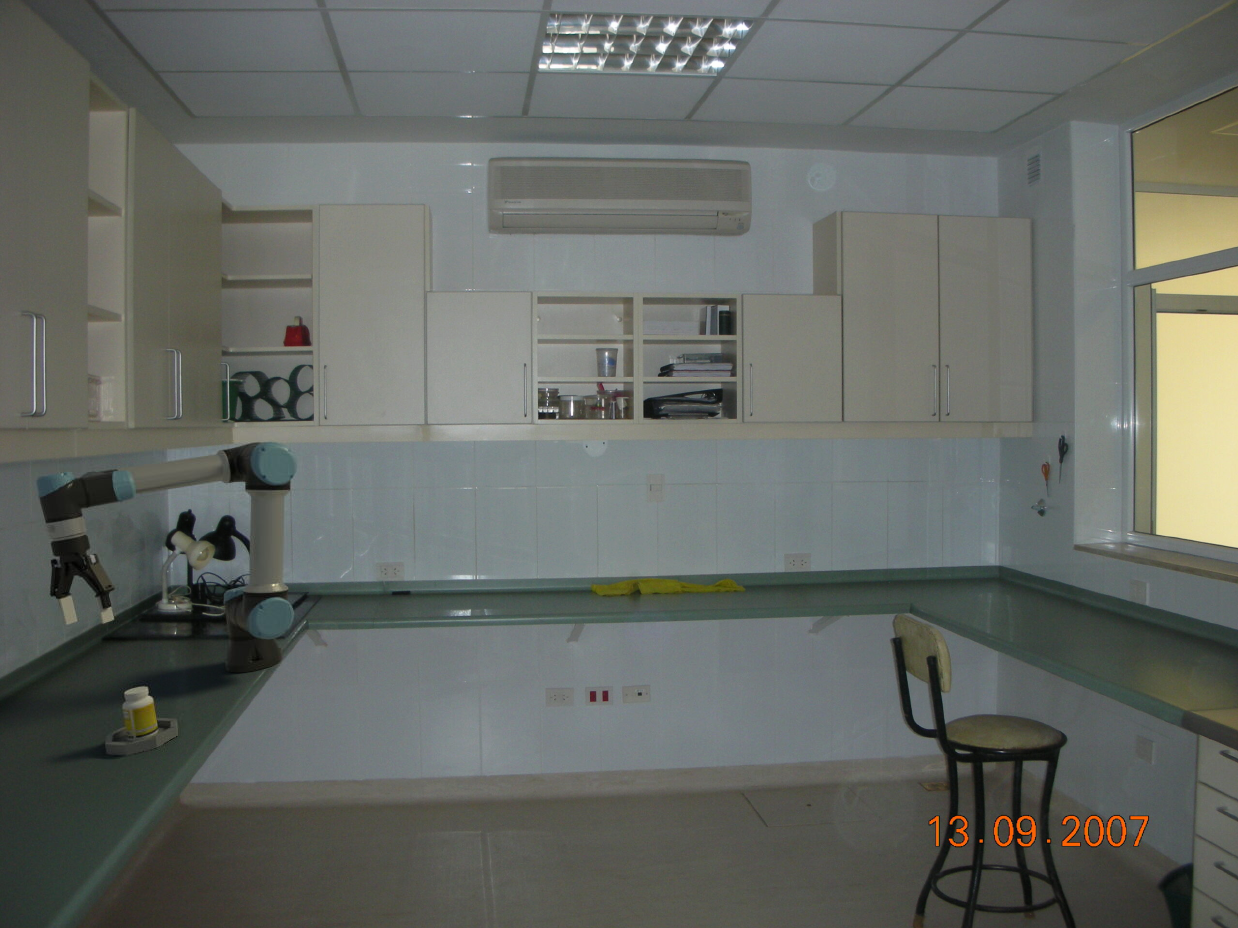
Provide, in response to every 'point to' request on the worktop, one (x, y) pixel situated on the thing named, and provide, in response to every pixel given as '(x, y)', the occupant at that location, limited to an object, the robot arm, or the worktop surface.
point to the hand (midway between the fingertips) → (89, 622)
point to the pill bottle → (139, 714)
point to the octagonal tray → (123, 746)
